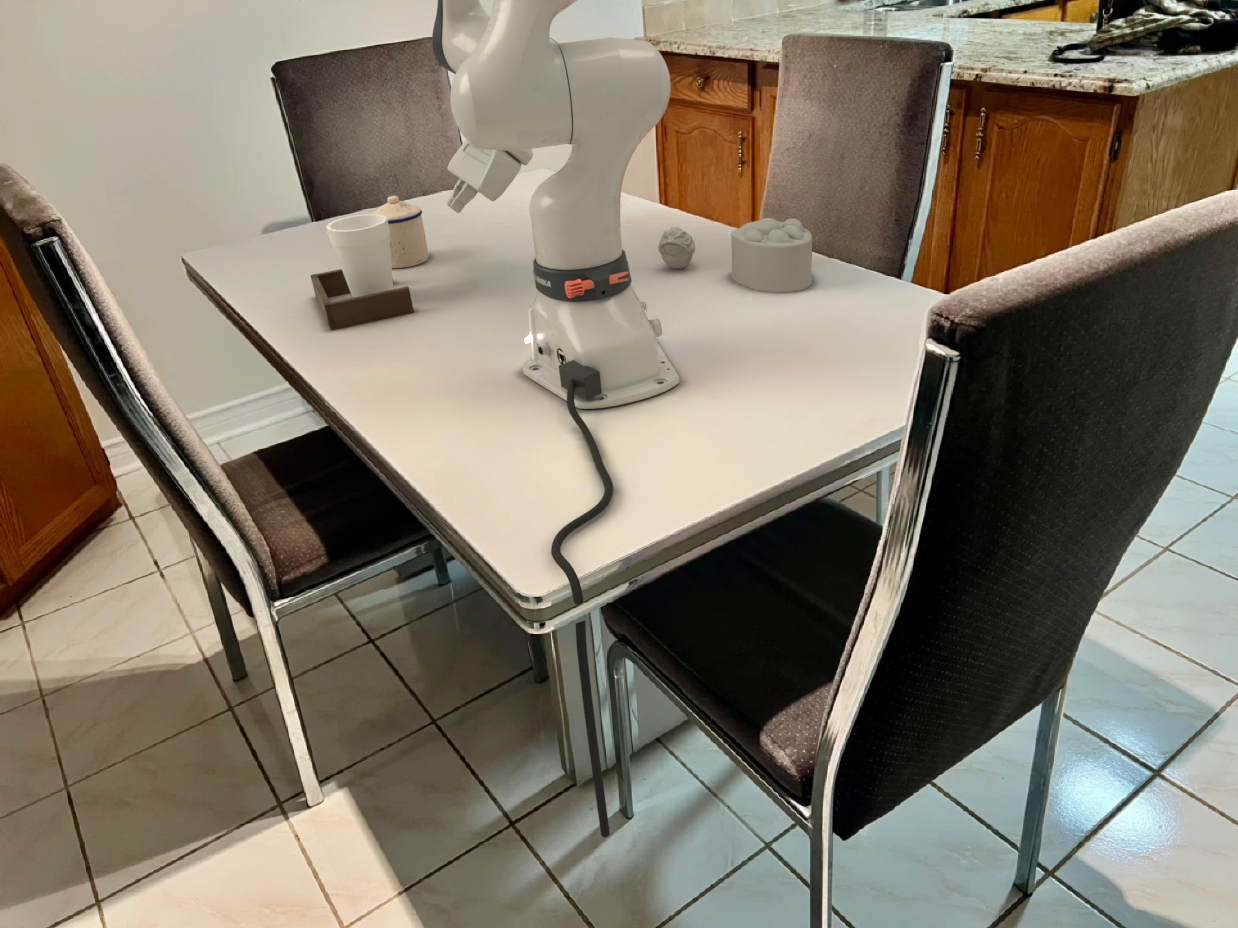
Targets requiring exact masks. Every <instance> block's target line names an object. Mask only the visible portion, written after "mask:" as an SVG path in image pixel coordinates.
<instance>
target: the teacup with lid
mask: <svg viewBox="0 0 1238 928" xmlns="http://www.w3.org/2000/svg"><path fill="white" fill-rule="evenodd" d="M371 214H379V215H384V216H386V218H387V220H388V225H389V229H390V234H389V239H390V252H391V265H392V269H404V268H411V267H415V266H418V265H421V264H423V263H425V262H426V261H427V260H428V259H429V257H430V253H429V248H428V243H427V238H426V233H425V227H424V223H423V216H422V214H423V211H422V209H421V207H420V206H418V205H416V204H413V203H408V202H406V201H403V200H400V198H399V196H397V195H390V196H387V202H386V203H384V204H383V205H382V206H380V207H379V208H377V209H375V210H373V211H372V213H371Z"/></svg>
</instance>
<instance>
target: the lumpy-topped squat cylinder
mask: <svg viewBox="0 0 1238 928" xmlns="http://www.w3.org/2000/svg"><path fill="white" fill-rule="evenodd" d="M730 234H731V236H730V240H731V241H730V242H731V243H730V244H731V245H730V246H731V247H730V248H731V278H732V280H733V281H734V282H736V283H738V284H740V285H741V286H744V287H747V288H749V289H751V290H756V291H758V292H759V291H760V292H770V293H794V292H800V291H803V290H806V289H808V288H809V287H810V286H811V284H812V272H813V271H812V269H813V265H812V264H813V235H812V234H811V232H810V230H809V229H806V228H804V227H803V224H802V222H801V221H800V220H798V219H797V218H788V219H786V220H785V221H777V220H776V219H774V218H773V217H765V218H762V219H760V220H755V221H751V222H746V223H744V224H743V225H742V226H740V227H739V228H736V229H734V230H733V231H731V233H730Z"/></svg>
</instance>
